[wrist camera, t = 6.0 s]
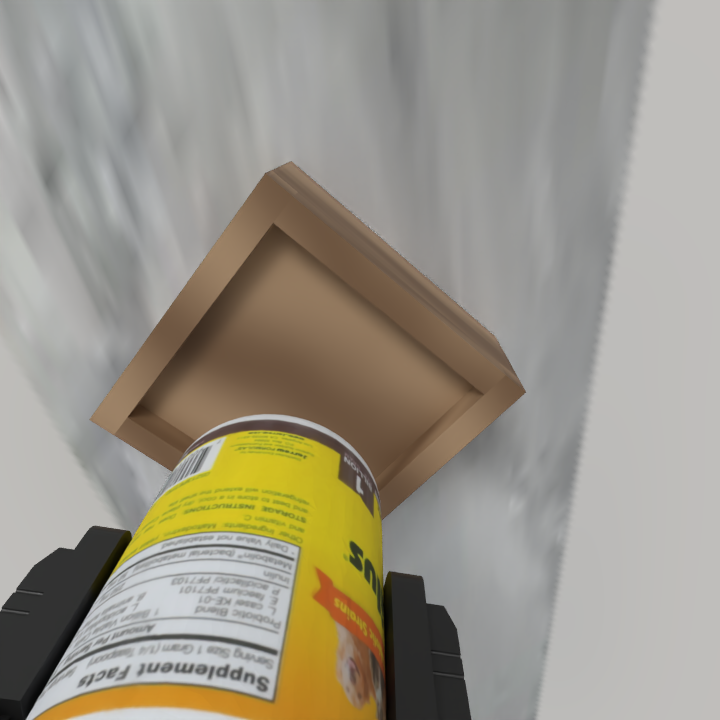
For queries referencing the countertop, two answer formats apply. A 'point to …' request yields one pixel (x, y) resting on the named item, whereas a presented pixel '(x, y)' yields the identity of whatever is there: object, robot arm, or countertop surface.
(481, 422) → the walnut tray
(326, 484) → the supplement bottle
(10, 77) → the countertop surface
